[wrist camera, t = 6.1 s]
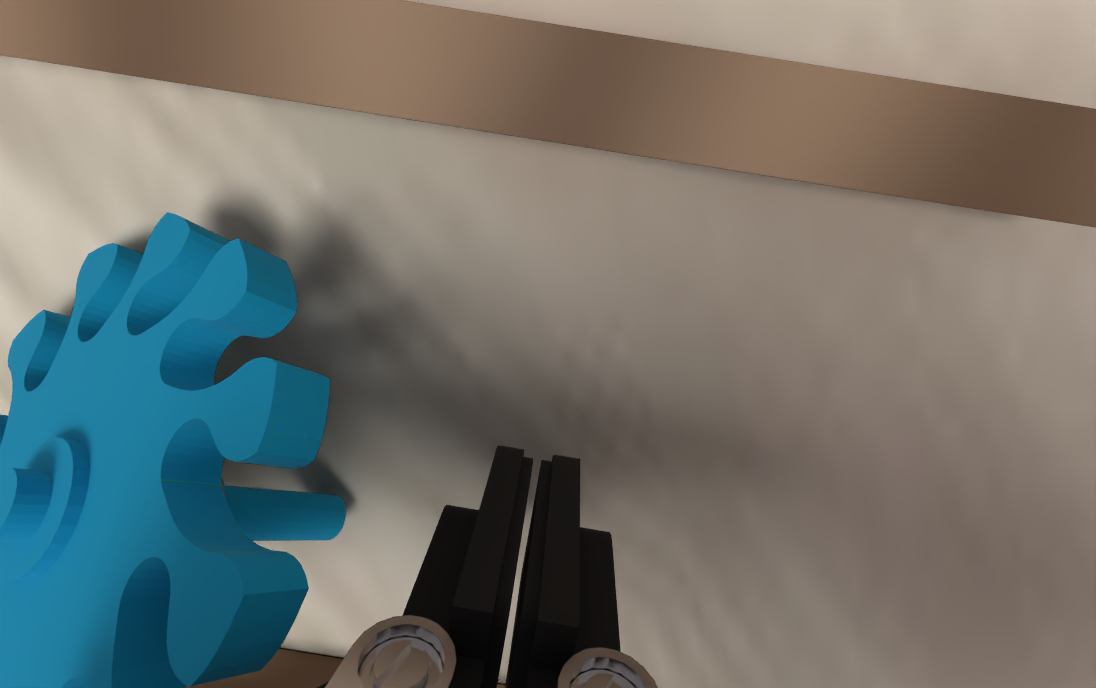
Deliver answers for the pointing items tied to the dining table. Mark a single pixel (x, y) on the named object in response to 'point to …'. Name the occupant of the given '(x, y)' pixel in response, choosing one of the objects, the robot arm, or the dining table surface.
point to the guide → (585, 108)
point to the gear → (155, 472)
